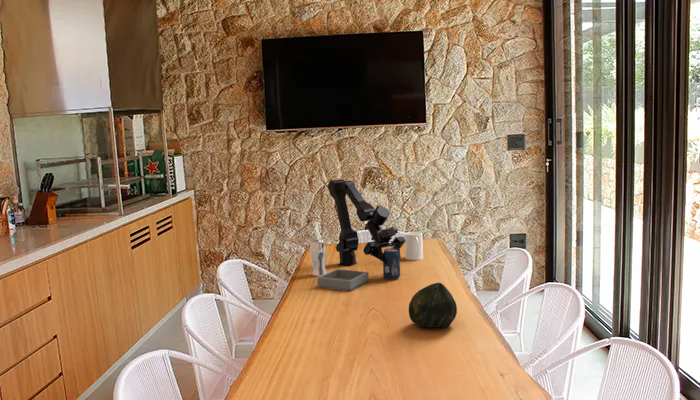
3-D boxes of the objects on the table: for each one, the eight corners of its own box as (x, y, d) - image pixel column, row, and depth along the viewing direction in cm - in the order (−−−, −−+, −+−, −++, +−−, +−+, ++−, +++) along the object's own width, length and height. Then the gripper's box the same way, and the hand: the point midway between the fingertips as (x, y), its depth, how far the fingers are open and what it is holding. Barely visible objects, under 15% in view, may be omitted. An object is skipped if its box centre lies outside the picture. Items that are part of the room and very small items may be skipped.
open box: (318, 287, 247) (317, 277, 247) (337, 278, 260) (336, 269, 259) (350, 291, 240) (350, 281, 239) (368, 281, 253) (368, 272, 252)
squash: (398, 303, 204) (412, 277, 193) (438, 299, 209) (454, 273, 198) (412, 341, 195) (428, 316, 184) (454, 336, 200) (471, 311, 189)
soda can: (390, 275, 262) (389, 247, 260) (403, 277, 257) (402, 249, 256) (380, 278, 256) (379, 250, 255) (393, 281, 252) (393, 252, 250)
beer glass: (328, 272, 270) (326, 238, 268) (326, 276, 263) (324, 242, 261) (312, 272, 271) (311, 239, 269) (310, 276, 264) (308, 242, 262)
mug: (426, 261, 284) (425, 235, 282) (407, 262, 283) (407, 236, 282) (421, 255, 295) (421, 231, 294) (404, 256, 295) (403, 231, 293)
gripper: (366, 223, 252) (383, 254, 244) (402, 217, 262) (419, 247, 254) (356, 239, 259) (372, 269, 252) (391, 233, 269) (408, 262, 262)
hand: (393, 261), depth 255 cm, fingers closed on soda can, 7 cm apart
